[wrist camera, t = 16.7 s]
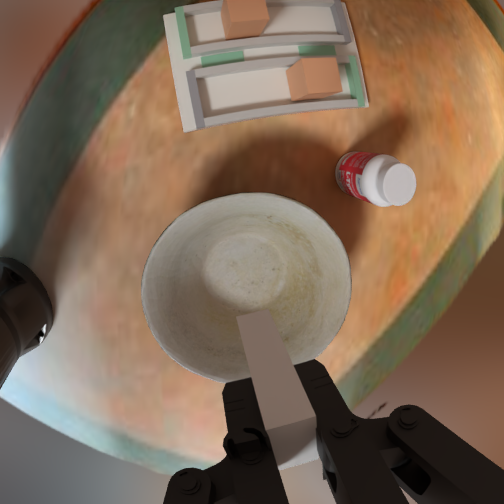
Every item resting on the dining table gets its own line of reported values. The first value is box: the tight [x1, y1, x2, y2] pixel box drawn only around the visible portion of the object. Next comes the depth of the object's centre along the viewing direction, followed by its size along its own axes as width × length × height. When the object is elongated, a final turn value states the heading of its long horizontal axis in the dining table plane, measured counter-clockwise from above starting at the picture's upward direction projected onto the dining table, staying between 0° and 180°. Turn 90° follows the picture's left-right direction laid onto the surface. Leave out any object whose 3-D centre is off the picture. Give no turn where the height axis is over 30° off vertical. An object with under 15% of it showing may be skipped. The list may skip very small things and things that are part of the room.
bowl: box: [141, 192, 352, 383], centre depth 37 cm, size 24×24×10 cm
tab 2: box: [286, 58, 343, 101], centre depth 31 cm, size 4×4×6 cm
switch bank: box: [163, 0, 369, 133], centre depth 32 cm, size 24×16×3 cm, turn 100°
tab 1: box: [221, 0, 270, 41], centre depth 27 cm, size 4×4×6 cm
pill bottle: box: [335, 151, 416, 207], centre depth 35 cm, size 6×6×11 cm
